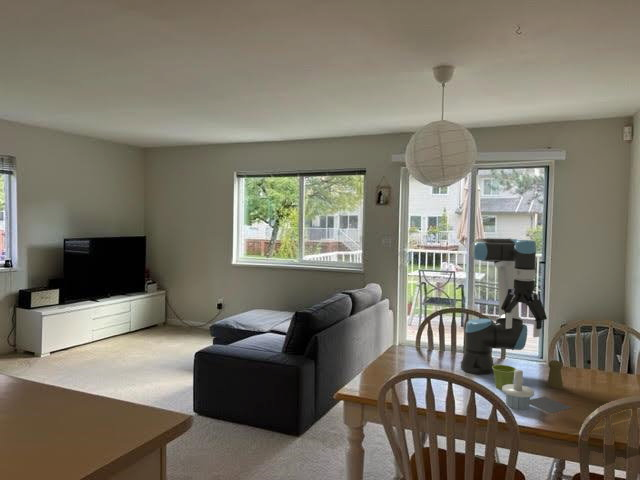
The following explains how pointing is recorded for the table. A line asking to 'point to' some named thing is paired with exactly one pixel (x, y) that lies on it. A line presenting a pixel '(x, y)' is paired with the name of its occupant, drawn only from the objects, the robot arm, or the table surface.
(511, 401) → the bowl
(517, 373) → the lid
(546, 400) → the mat
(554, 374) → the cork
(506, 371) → the plant pot
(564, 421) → the table surface
